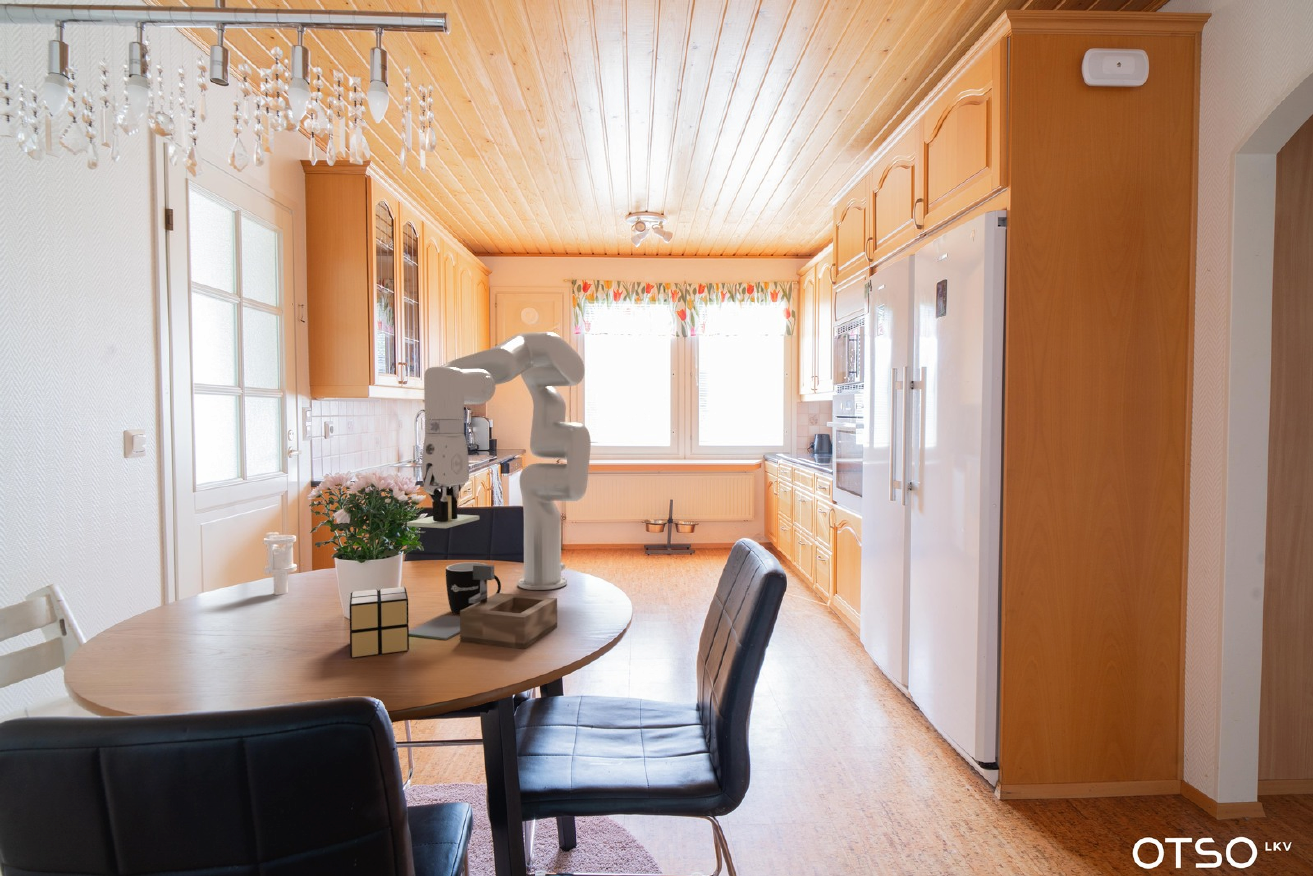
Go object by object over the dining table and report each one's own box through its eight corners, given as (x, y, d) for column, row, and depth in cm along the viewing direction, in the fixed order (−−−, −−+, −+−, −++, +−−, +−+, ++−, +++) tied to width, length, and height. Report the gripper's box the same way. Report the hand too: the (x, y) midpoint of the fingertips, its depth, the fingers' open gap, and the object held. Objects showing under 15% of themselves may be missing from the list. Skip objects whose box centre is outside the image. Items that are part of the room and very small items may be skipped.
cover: (442, 517, 146) (442, 490, 146) (479, 519, 143) (479, 492, 143) (406, 526, 134) (406, 497, 134) (445, 528, 132) (445, 498, 132)
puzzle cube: (351, 642, 131) (350, 591, 130) (406, 635, 135) (405, 586, 134) (350, 659, 121) (349, 604, 121) (409, 651, 125) (408, 598, 125)
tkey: (494, 601, 137) (494, 565, 137) (481, 608, 132) (481, 571, 132) (476, 600, 138) (476, 564, 138) (462, 607, 133) (462, 570, 132)
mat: (442, 616, 147) (442, 614, 147) (482, 620, 144) (482, 619, 144) (403, 635, 135) (403, 633, 135) (446, 640, 132) (446, 638, 132)
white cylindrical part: (279, 588, 171) (278, 530, 170) (303, 590, 169) (302, 531, 169) (257, 596, 164) (256, 534, 163) (282, 597, 163) (281, 535, 162)
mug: (442, 617, 146) (442, 571, 146) (449, 606, 155) (449, 562, 155) (499, 615, 148) (498, 569, 148) (502, 604, 157) (502, 561, 157)
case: (497, 620, 144) (497, 593, 144) (557, 626, 140) (557, 598, 140) (460, 641, 131) (459, 610, 131) (524, 649, 127) (524, 617, 127)
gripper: (436, 429, 126) (437, 527, 127) (482, 428, 142) (483, 515, 142) (402, 429, 129) (403, 525, 129) (451, 428, 144) (452, 513, 145)
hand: (445, 519), depth 136 cm, fingers closed on cover, 2 cm apart
